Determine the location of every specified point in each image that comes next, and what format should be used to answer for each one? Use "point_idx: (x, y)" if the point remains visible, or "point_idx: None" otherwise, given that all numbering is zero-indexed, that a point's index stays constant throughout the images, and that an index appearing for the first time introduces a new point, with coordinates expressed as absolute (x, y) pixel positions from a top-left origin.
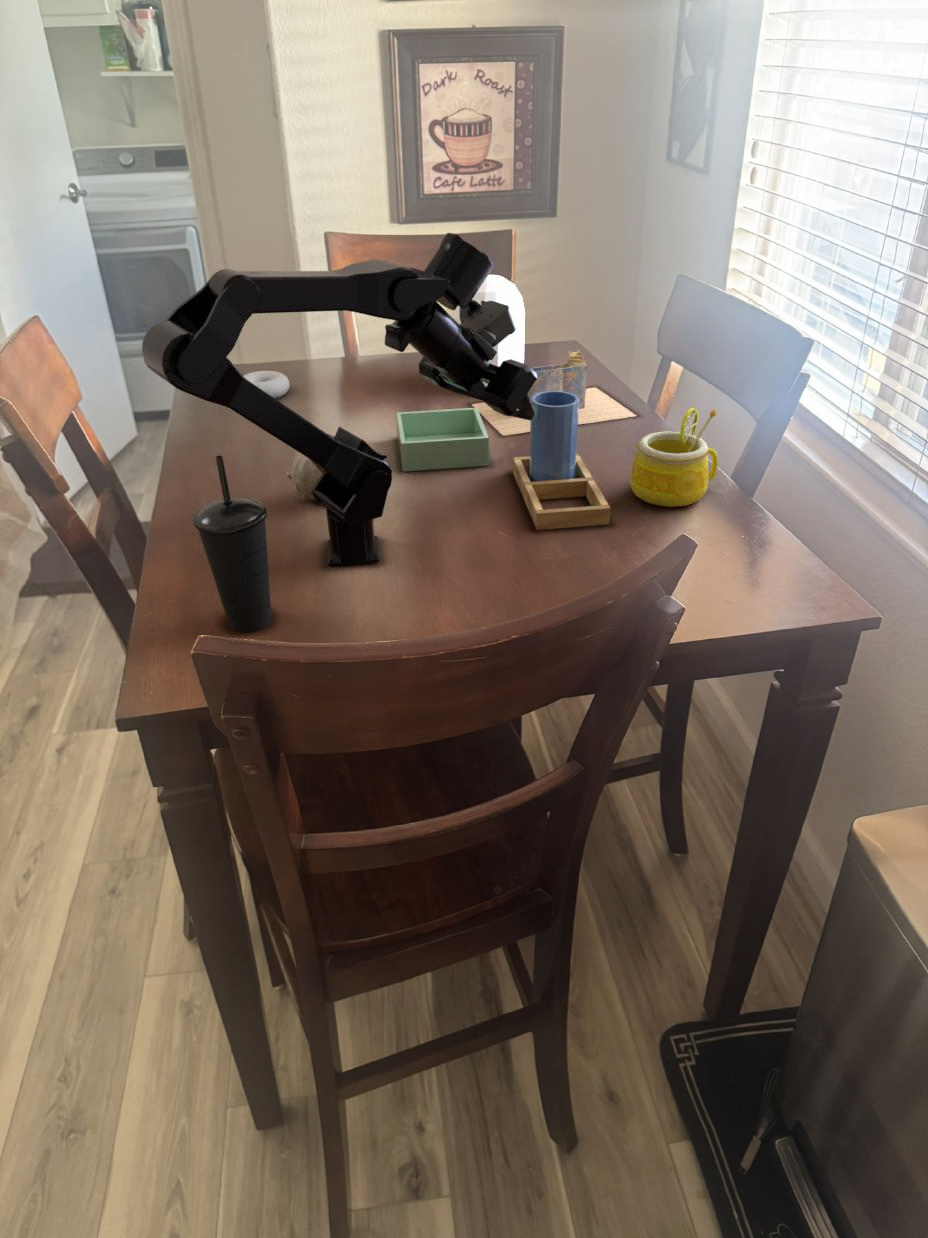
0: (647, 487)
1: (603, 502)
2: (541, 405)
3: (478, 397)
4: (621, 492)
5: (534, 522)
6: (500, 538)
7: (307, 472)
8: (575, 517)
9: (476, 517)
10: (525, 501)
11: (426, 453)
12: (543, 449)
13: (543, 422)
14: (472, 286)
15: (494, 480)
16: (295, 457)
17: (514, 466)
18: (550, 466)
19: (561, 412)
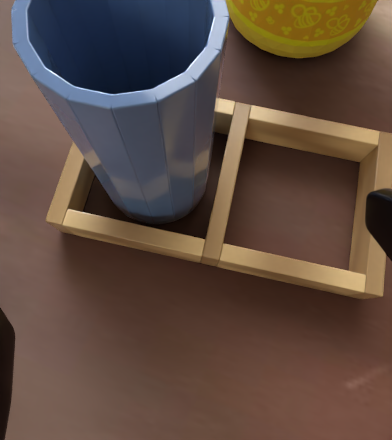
0: (343, 31)
1: (367, 135)
2: (176, 94)
3: (2, 417)
4: (248, 71)
5: (340, 293)
6: (378, 395)
7: None
8: None
9: (257, 412)
10: (228, 268)
11: None
12: (191, 171)
13: (188, 129)
14: None
15: (80, 290)
16: None
17: (74, 230)
18: (203, 174)
19: (224, 48)
